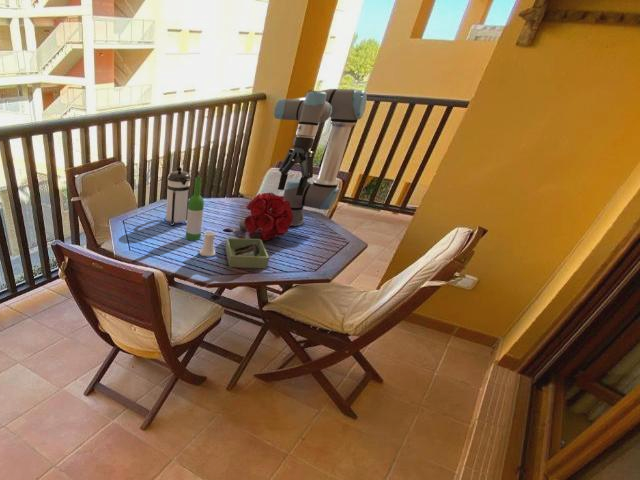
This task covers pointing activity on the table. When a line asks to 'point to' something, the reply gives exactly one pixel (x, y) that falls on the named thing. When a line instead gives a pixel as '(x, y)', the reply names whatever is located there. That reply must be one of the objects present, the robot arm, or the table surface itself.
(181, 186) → the coffee press
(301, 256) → the table surface
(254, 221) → the bouquet
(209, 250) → the salt shaker
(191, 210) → the wine bottle
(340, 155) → the robot arm
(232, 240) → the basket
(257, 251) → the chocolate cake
